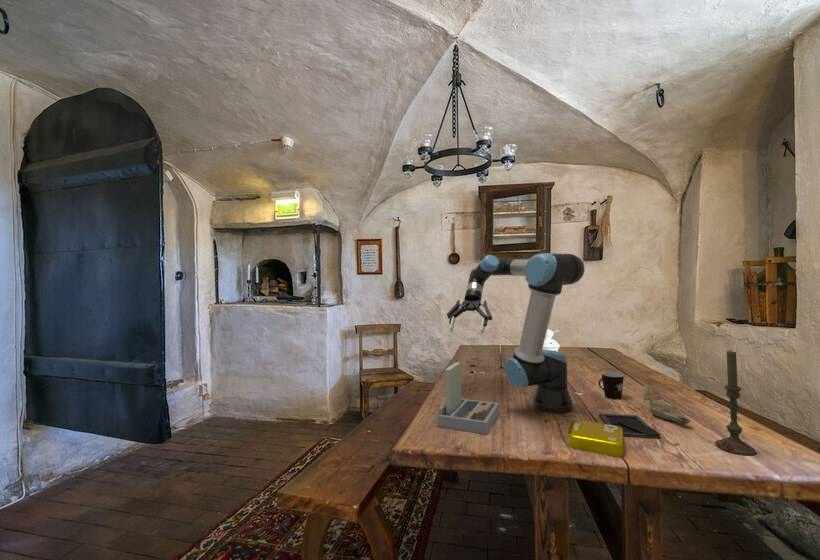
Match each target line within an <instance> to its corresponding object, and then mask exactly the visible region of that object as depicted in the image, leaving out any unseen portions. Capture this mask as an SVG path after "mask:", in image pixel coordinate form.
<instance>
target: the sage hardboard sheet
mask: <svg viewBox="0 0 820 560" xmlns="http://www.w3.org/2000/svg"><path fill="white" fill-rule="evenodd" d="M461 367H462V366H461V362H454V363H453V364H451V365H449V366H448V367H447V368H446V369H444V385H445V387H444V388H445V389H444V390H445V393H444V395H445V403H446V416H450V415H451V414H452V413H453V412H454V411H455V410H456V409H457V408H458V407H459V406H460V405H461V404H462V399H463V397H462V369H461Z"/></svg>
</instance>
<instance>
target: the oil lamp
mask: <svg viewBox="0 0 820 560" xmlns="http://www.w3.org/2000/svg"><path fill="white" fill-rule="evenodd" d="M642 394H643V399H644V401H649V404H650V405H649V409H650V411H651V412H652V414H654V416H656V417H657V418H659V419H662V420H667V421H672V422H674V423H678V424H680V425H685V426H686V425H688V424H689V423H690V421H691V420H690V419H689V418H687V417H685V416H684V415H681V410H679V409H678V408H677V407H676V406H672V405H669V404H662V403H660V402H659V400H663V397H662V395H661V394H660V393H659V392H658V391H657V389H654V387H652V386H650V385H649V384H648V383H647V382H646V383H645V384H644V387H643V393H642Z"/></svg>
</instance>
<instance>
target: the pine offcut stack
mask: <svg viewBox="0 0 820 560" xmlns="http://www.w3.org/2000/svg"><path fill="white" fill-rule="evenodd" d="M490 411H491V403H487V404H486V405H485V406H484V405H480V406H479V408H478V409H477V410H476V411H475V413H474V420H480V421H484V420H485V418H486V417H487V415H488V414H489V412H490Z"/></svg>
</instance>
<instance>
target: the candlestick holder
mask: <svg viewBox="0 0 820 560" xmlns="http://www.w3.org/2000/svg"><path fill="white" fill-rule="evenodd" d="M737 360H738V359H737V352H736V351H733V350H731V349H729V350H727V351H726V366H727V367H726V368H727V369H726V370H727V371H726V372H727V385H724V389H725V390H726V391H725V395H726V397H728V398H729V404H728V408H729V410H730V411H729V413H730V416H729V417H730V423H728V424H727V425H726V429H727V431H728V433H729V437H724V438H722V439H718V440H716V441H715V445H714V446H716V447H717V448H718V449H719V450H722V451H724V452H727V453H730V454H734V455H738V456H744V457H745V456H754V455H756V454H757V450H756V449H755V448H754V447H752V446H751V445H749V444H748V443H746V442H745V441H743V440H742V439H741V438H740V435H741V433H742V431H743V428H742V427H741V426H740V425H739V423H738V409H739V405H738V401H737V399H740V397H741V394H740V392H741V391H742V388H741V387H740V386H738V367H737Z"/></svg>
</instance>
